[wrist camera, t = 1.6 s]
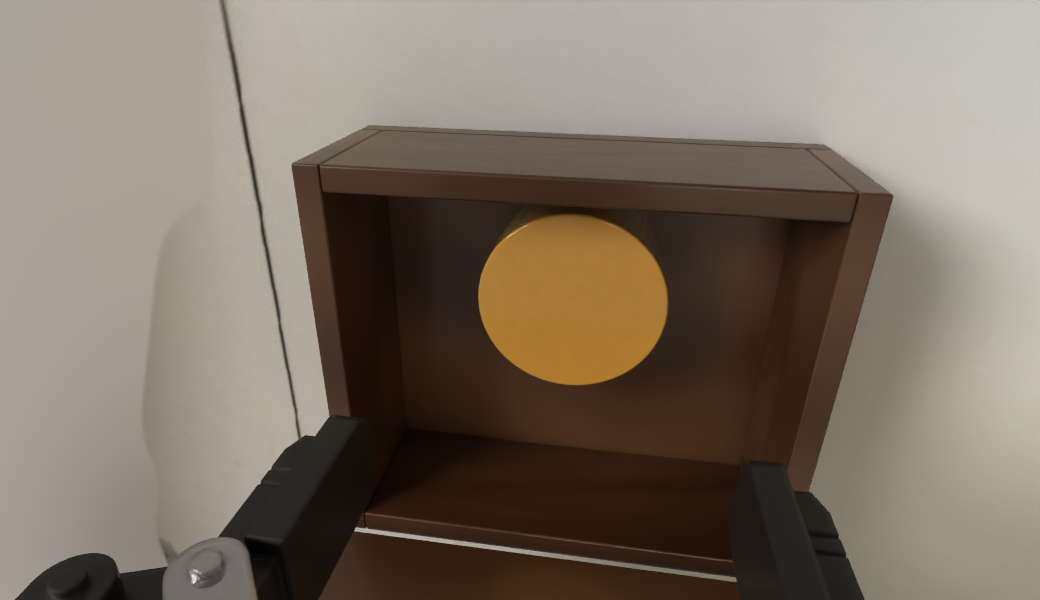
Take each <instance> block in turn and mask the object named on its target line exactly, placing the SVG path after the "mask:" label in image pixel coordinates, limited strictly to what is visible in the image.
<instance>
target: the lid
mask: <svg viewBox="0 0 1040 600" xmlns="http://www.w3.org/2000/svg"><path fill="white" fill-rule="evenodd" d="M319 600H741V599H740V594H739V589H738V584H737V582H730V581H722V580H715V579H707V578H700V577H692V576H685V575H677V574H670V573H662V572H655V571H647V570H640V569H632V568H625V567H617V566H610V565H602V564H595V563H587V562H580V561H572V560H565V559H557V558H550V557H542V556H535V555H527V554H520V553H512V552H505V551H497V550H490V549H482V548H475V547H467V546H460V545H452V544H445V543H437V542H430V541H422V540H415V539H407V538H400V537H392V536H385V535H377V534H370V533H362V532H355V531H354V532H353V534H352V535H351V537H350V539H349V541H348V543H347V545H346V547H345V549H344V551H343V553H342V555H341V557H340V559H339V561H338V563H337V565H336V567H335V569H334V571H333V572H332V574H331V576H330V578H329V580H328V582H327V584H326V586H325V588H324V590H323V592H322V594H321V596H320V598H319Z"/></svg>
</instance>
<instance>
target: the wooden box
mask: <svg viewBox="0 0 1040 600" xmlns="http://www.w3.org/2000/svg"><path fill="white" fill-rule="evenodd" d="M292 172H293V178H294V185H295V192H296V198H297V205H298V211H299V218H300V225H301V231H302V238H303V244H304V251H305V257H306V264H307V271H308V277H309V284H310V290H311V297H312V304H313V310H314V317H315V323H316V330H317V337H318V343H319V350H320V356H321V363H322V370H323V376H324V383H325V389H326V396H327V402H328V409H329V416H332V415H340V416H349V417H359V418H365V419H367V421H368V424H369V429H370V438H371V446H372V455H373V463H374V473H375V477H374V486H373V491H372V495H371V498H370V500H369V502H368V504H367V506H366V508H365V510H364V512H363V514H362V516H361V518H360V520H359V522H358V524H357V526H356V527H358V528H366V527H367V528H368V529H375V530H382V531H390V532H397V533H405V534H412V535H420V536H427V537H435V538H442V539H450V540H458V541H465V542H473V543H480V544H488V545H495V546H503V547H510V548H518V549H526V550H533V551H541V552H548V553H556V554H563V555H571V556H578V557H586V558H594V559H601V560H609V561H616V562H624V563H631V564H639V565H646V566H654V567H662V568H669V569H677V570H684V571H692V572H699V573H707V574H714V575H722V576H729V577H736V573H735V568H734V563H733V558H732V553H731V547H730V538H729V524H730V515H731V510H732V505H733V501H734V496H735V491H736V487H737V482H738V477H739V472H740V468H741V464H742V462H743V460H744V459H747V460H757V461H766V462H776V463H783V464H784V466H785V468H786V470H787V473H788V476H789V479H790V482H791V485H792V488H793V490H794V491H803V492H809V489H810V485H811V482H812V478H813V475H814V471H815V468H816V464H817V461H818V457H819V454H820V450H821V447H822V443H823V440H824V436H825V433H826V429H827V426H828V422H829V419H830V415H831V412H832V408H833V405H834V402H835V398H836V395H837V391H838V388H839V384H840V381H841V377H842V374H843V370H844V367H845V363H846V360H847V356H848V353H849V349H850V346H851V342H852V339H853V335H854V332H855V328H856V325H857V321H858V318H859V314H860V311H861V307H862V304H863V300H864V297H865V293H866V290H867V286H868V283H869V279H870V276H871V272H872V269H873V265H874V262H875V258H876V255H877V252H878V248H879V245H880V241H881V238H882V234H883V231H884V227H885V224H886V220H887V217H888V213H889V210H890V206H891V203H892V199H893V194H891V193H890V192H888V191H887V190H886V189H884V188H883V187H882V186H880V185H879V184H878V183H876V182H875V181H874V180H872V179H871V178H869V177H868V176H867V175H865V174H864V173H863V172H861V171H860V170H859V169H857V168H856V167H855V166H853V165H852V164H850V163H849V162H848V161H846V160H845V159H844V158H842V157H841V156H840V155H838V154H837V153H836V152H834V151H832V150H831V149H830V148H829V147H827V146H826V145H817V144H794V143H770V142H747V141H724V140H700V139H677V138H653V137H630V136H606V135H583V134H560V133H536V132H513V131H489V130H466V129H442V128H419V127H396V126H372V125H369V126H367V127H365V128H363V129H361V130H359V131H357V132H355V133H353V134H351V135H349V136H347V137H345V138H342V139H340V140H338V141H336V142H334V143H332V144H330V145H328V146H326V147H324V148H322V149H320V150H318V151H316V152H314V153H312V154H310V155H308V156H306V157H304V158H302V159H300V160H298V161H296V162H294V163H292ZM527 204H533V205H550V206H567V207H585V208H602V209H619V210H635V211H636V212H637V213H638V214H639V215H640V216H641V217H642V218H643V219H644V220H645V221H646V222H647V223H648V225H649V226H650V227H651V229H652V230H653V232H654V234H655V236H656V237H657V240H658V242H659V245H660V247H661V251H662V255H663V260H664V267H665V274H666V281H667V288H668V297H669V307H668V316H667V321H666V325H665V327H664V330H663V333H662V335H661V337H660V339H659V341H658V342H657V344H656V346H655V347H654V348H653V350H652V351H651V352H650V353H649V355H648V356H647V357H646V358H645V359H644V360H643V361H642V362H640V363H639V364H638V365H637V366H635V367H634V368H633V369H631V370H629V371H628V372H626V373H624V374H623V375H620V376H618V377H616V378H614V379H611V380H608V381H604V382H601V383H596V384H590V385H564V384H558V383H553V382H549V381H545V380H542V379H540V378H537V377H535V376H532V375H530V374H528V373H527V372H525V371H523V370H521V369H520V368H518V367H517V366H515V365H514V364H513V363H511V362H510V361H509V360H508V359H507V358H506V357H505V356H504V355H503V354H502V353H501V352H500V351H499V350H498V349H497V347H496V346H495V345H494V343H493V342H492V340H491V339H490V337H489V335H488V333H487V331H486V330H485V327H484V324H483V322H482V319H481V315H480V310H479V303H478V289H479V282H480V277H481V274H482V271H483V268H484V265H485V263H486V261H487V259H488V258H489V256H490V254H491V252H492V250H493V248H494V246H495V244H496V242H497V241H498V239H499V237H500V235H501V233H502V231H503V229H504V228H505V226H506V225H507V223H508V222H509V221H510V219H511V218H512V217H513V216H514V215H515V214H516V213H517V212H518V211H519V210H521V209H522V208H523V207H524V206H526V205H527Z"/></svg>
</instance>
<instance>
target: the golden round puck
mask: <svg viewBox="0 0 1040 600" xmlns="http://www.w3.org/2000/svg"><path fill="white" fill-rule="evenodd" d="M478 303H479V310H480V315H481V319H482V322H483V324H484V327H485V330H486V331H487V333H488V335H489V337H490V339H491V340H492V342H493V343H494V345H495V346H496V347H497V349H498V350H499V351H500V352H501V353H502V354H503V355H504V356H505V357H506V358H507V359H508V360H509V361H510V362H511V363H513V364H514V365H515V366H517V367H518V368H520V369H521V370H523V371H525V372H527V373H528V374H530V375H532V376H535V377H537V378H540V379H542V380H545V381H549V382H553V383H558V384H564V385H590V384H596V383H601V382H604V381H608V380H611V379H614V378H616V377H618V376H620V375H623V374H624V373H626V372H628V371H629V370H631V369H633V368H634V367H635V366H637V365H638V364H639V363H640V362H642V361H643V360H644V359H645V358H646V357H647V356H648V355H649V353H650V352H651V351H652V350H653V348H654V347H655V346H656V344H657V342H658V341H659V339H660V337H661V335H662V333H663V330H664V327H665V325H666V321H667V316H668V307H669V297H668V288H667V281H666V274H665V267H664V260H663V255H662V251H661V247H660V245H659V242H658V240H657V237H656V236H655V234H654V232H653V230H652V229H651V227H650V226H649V225H648V223H647V222H646V221H645V220H644V219H643V218H642V217H641V216H640V215H639V214H638V213H637V212H636V211H635V210H619V209H602V208H585V207H567V206H550V205H533V204H527V205H526V206H524V207H523V208H522V209H521V210H519V211H518V212H517V213H516V214H515V215H514V216H513V217H512V218H511V219H510V221H509V222H508V223H507V225H506V226H505V228H504V229H503V231H502V233H501V235H500V237H499V239H498V241H497V242H496V244H495V246H494V248H493V250H492V252H491V254H490V256H489V258H488V259H487V261H486V263H485V265H484V268H483V271H482V274H481V277H480V282H479V289H478Z"/></svg>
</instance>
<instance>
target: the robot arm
mask: <svg viewBox="0 0 1040 600" xmlns="http://www.w3.org/2000/svg"><path fill="white" fill-rule="evenodd" d="M374 477H375V473H374V463H373V455H372V446H371V438H370V429H369V424H368V421H367V419H365V418H359V417H349V416H340V415H332V416H330V417H329V418H328V419H327V421H326V422H325V423H324V425H323V426H322V428H321V429H320V430H319V432H318V433H317V435H316V436H307V435H305V436H304V437H302V438H301V439H299V440H298V441H296V442H295V443H293V444H292V445H291V446H289V447H288V448H286V449H285V450H284V451H283V453H282V454H281V455H280V457H279V458H278V459H277V460H276V462H275V463H274V464H273V466H272V469H271V470H269V471H268V472H267V474H266V475H265V476H264V478H263V479H262V480H261V484H260V485H257V487H256V488H255V489H254V491H253V492H252V493H251V495H250V496H249V497H248V499H247V500H246V501H245V502H244V504H243V505H242V506H241V508H240V509H239V510H238V512H237V513H236V514H235V516H234V517H233V518H232V520H231V521H230V522H229V523H228V525H227V526H226V527H225V529H224V530H223V531H222V533H221V534H220V535H219V537H217V538H211V539H208V540H204V541H201V542H199V543H196V544H194V545H192V546H190V547H189V548H187V549H186V550H184V551H183V552H181V553H180V554H179V555H178V556H177V557H176V558H175V559H174V560H173V561H172V562H171V563H170V564H169V566H168V567H163V568H156V569H149V570H142V571H135V572H128V573H121V574H120V573H119V571H118V569H117V566H116V563H115V561H114V560H113V559H112V558H111V557H109V556H107V555H104V554H99V553H89V554H82V555H78V556H75V557H71V558H68V559H66V560H64V561H62V562H59V563H57V564H56V565H54V566H52V567H50V568H49V569H47V570H46V571H44V572H43V573H42V574H40V575H39V576H38V577H37V578H36V579H35V580H34V581H32V582H31V583H30V585H29V586H28V587H27V588H26V589H25V590H24V591H23V592H22V593H21V594H20V595H19V596H18V597H17V598H16V599H15V600H319V598H320V596H321V594H322V592H323V590H324V588H325V586H326V584H327V582H328V580H329V578H330V576H331V574H332V572H333V571H334V569H335V567H336V565H337V563H338V561H339V559H340V557H341V555H342V553H343V551H344V549H345V547H346V545H347V543H348V541H349V539H350V537H351V535H352V534H353V532H354V530H355V528H356V526H357V524H358V522H359V520H360V518H361V516H362V514H363V512H364V510H365V508H366V506H367V504H368V502H369V500H370V498H371V495H372V491H373V486H374ZM838 536H839V535H838V532H837V530H836V528H835V525H834V523H833V520H832V518H831V515H830V513H829V512H828V511H827V510H826V508H825V507H824V506H823V505H822V504H821V503H820V502H819V501H818V500H817V499H816V498H815V496H814V495H813V494H812V493H811V492H803V491H794V490H793V488H792V485H791V482H790V479H789V476H788V473H787V470H786V468H785V466H784V464H783V463H776V462H766V461H757V460H747V459H744V460H743V462H742V464H741V468H740V472H739V477H738V482H737V487H736V491H735V496H734V501H733V505H732V510H731V515H730V524H729V538H730V547H731V553H732V558H733V563H734V568H735V573H736V578H737V584H738V589H739V594H740V599H741V600H864V597H863V595H862V592H861V590H860V587H859V585H858V582H857V580H856V577H855V575H854V572H853V570H852V567H851V565H850V562H849V560H848V558H846V552H845V550H844V547H843V545H842V542H841V540H839V538H838Z"/></svg>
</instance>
